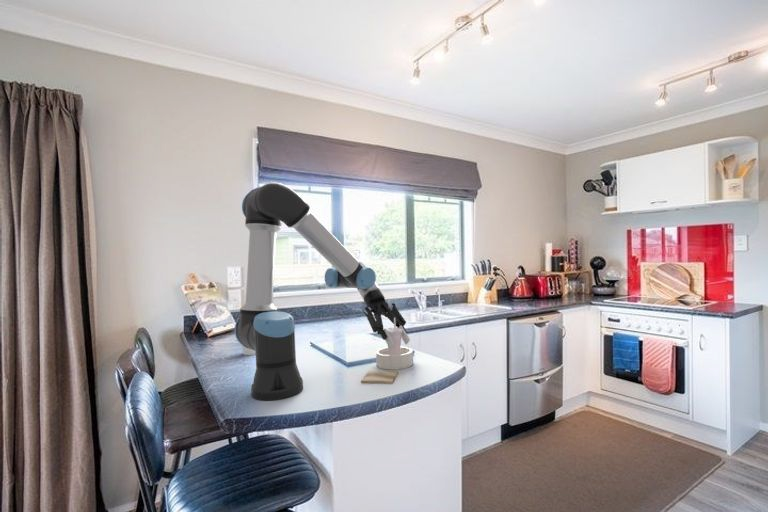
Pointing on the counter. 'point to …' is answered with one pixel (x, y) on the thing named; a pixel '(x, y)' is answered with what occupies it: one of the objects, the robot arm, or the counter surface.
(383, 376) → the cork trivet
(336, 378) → the counter surface
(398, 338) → the smoothie
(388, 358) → the bowl
